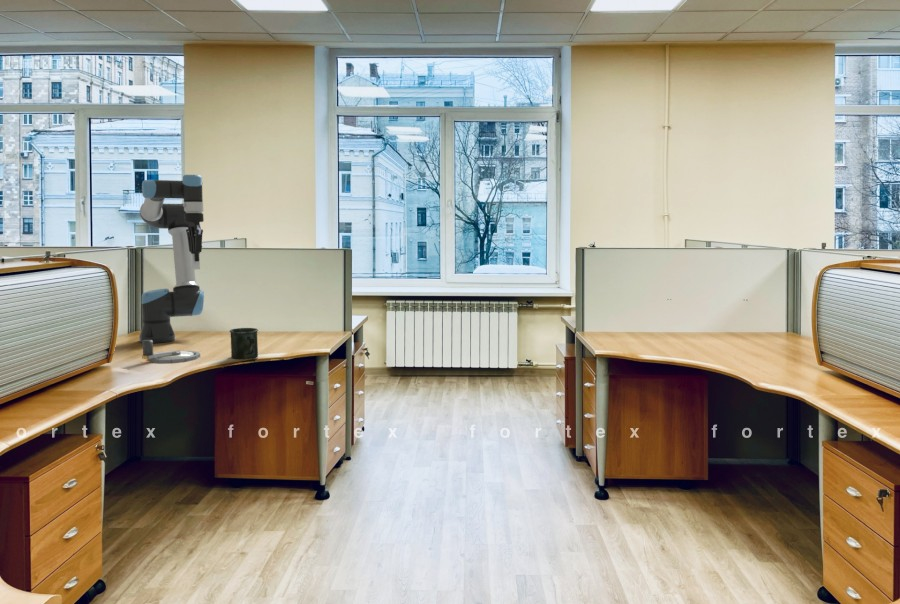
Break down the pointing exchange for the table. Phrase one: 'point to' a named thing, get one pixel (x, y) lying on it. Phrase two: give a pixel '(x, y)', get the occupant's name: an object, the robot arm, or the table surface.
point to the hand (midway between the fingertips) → (196, 269)
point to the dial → (162, 355)
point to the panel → (196, 356)
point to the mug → (244, 344)
